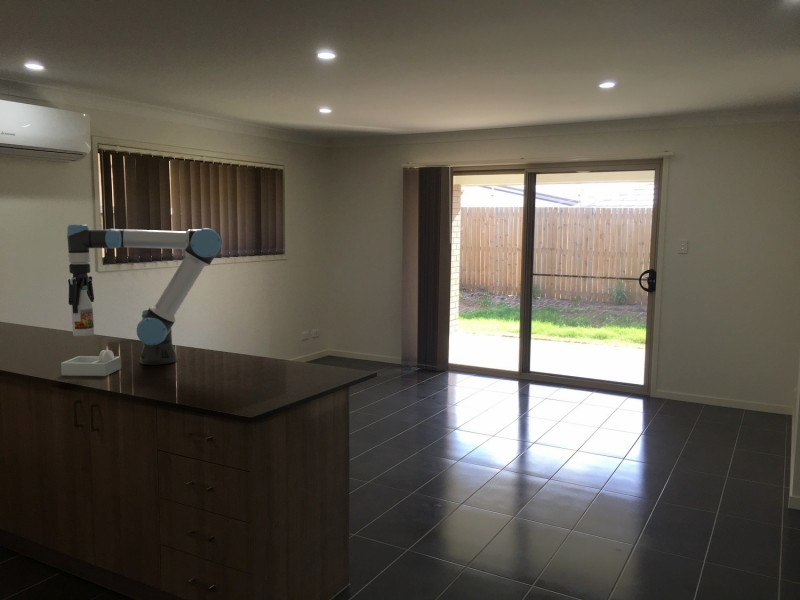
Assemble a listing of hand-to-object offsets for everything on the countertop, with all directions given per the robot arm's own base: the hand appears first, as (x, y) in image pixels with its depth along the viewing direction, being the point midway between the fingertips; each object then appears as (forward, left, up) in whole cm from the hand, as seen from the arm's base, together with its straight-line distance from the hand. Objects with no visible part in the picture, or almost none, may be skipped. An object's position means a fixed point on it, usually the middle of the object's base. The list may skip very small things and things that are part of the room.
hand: (82, 319), depth 263 cm
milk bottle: (0, 0, -6) cm, 6 cm away
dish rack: (0, +3, -22) cm, 22 cm away
